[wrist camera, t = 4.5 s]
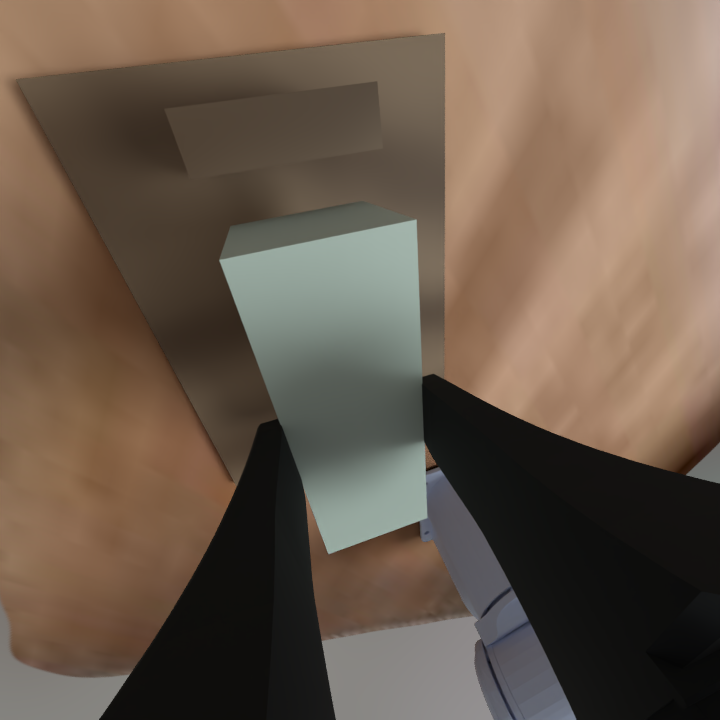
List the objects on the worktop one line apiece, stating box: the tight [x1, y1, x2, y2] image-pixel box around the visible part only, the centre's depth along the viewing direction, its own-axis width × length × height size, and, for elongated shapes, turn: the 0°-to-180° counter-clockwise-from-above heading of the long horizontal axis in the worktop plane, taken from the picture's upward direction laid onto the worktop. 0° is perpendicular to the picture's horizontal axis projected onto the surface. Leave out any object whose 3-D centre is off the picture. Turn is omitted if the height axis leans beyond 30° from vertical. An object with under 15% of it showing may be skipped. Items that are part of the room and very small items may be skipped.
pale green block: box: [219, 201, 427, 554], centre depth 11 cm, size 11×4×4 cm, turn 8°
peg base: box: [16, 33, 445, 523], centre depth 14 cm, size 20×14×6 cm
